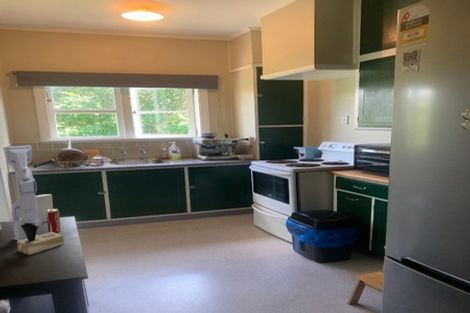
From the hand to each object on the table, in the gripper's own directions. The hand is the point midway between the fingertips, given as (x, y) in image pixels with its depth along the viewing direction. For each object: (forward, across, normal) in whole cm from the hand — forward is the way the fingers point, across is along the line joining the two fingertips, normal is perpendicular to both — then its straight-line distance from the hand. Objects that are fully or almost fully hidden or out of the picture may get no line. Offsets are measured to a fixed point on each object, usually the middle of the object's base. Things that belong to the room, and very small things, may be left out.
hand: (31, 240), depth 131 cm
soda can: (+4, -14, +16) cm, 22 cm away
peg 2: (+4, 0, +7) cm, 8 cm away
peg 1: (+4, 0, 0) cm, 4 cm away
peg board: (+4, 0, +4) cm, 6 cm away
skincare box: (+4, -44, +26) cm, 52 cm away
